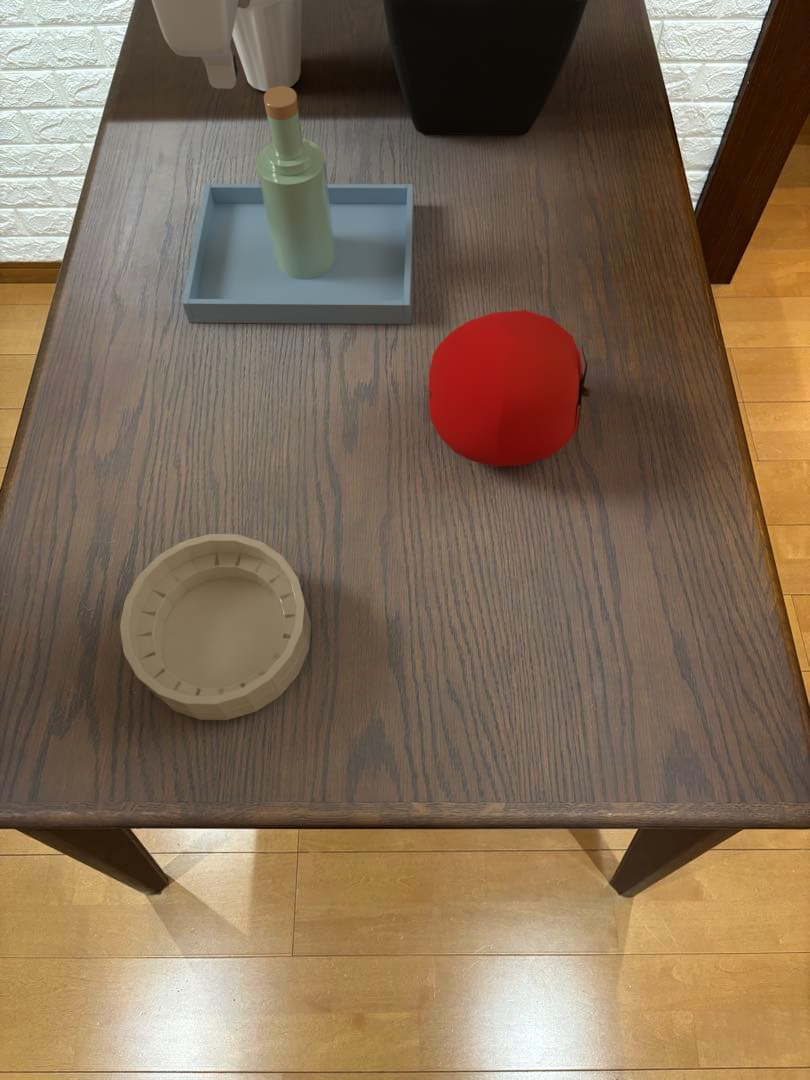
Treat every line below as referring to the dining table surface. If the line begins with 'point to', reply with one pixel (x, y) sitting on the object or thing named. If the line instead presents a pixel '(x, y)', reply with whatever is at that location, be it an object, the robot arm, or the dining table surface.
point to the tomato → (507, 388)
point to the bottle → (295, 191)
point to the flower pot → (479, 60)
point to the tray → (273, 297)
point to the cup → (269, 42)
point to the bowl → (216, 626)
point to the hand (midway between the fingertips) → (232, 41)
